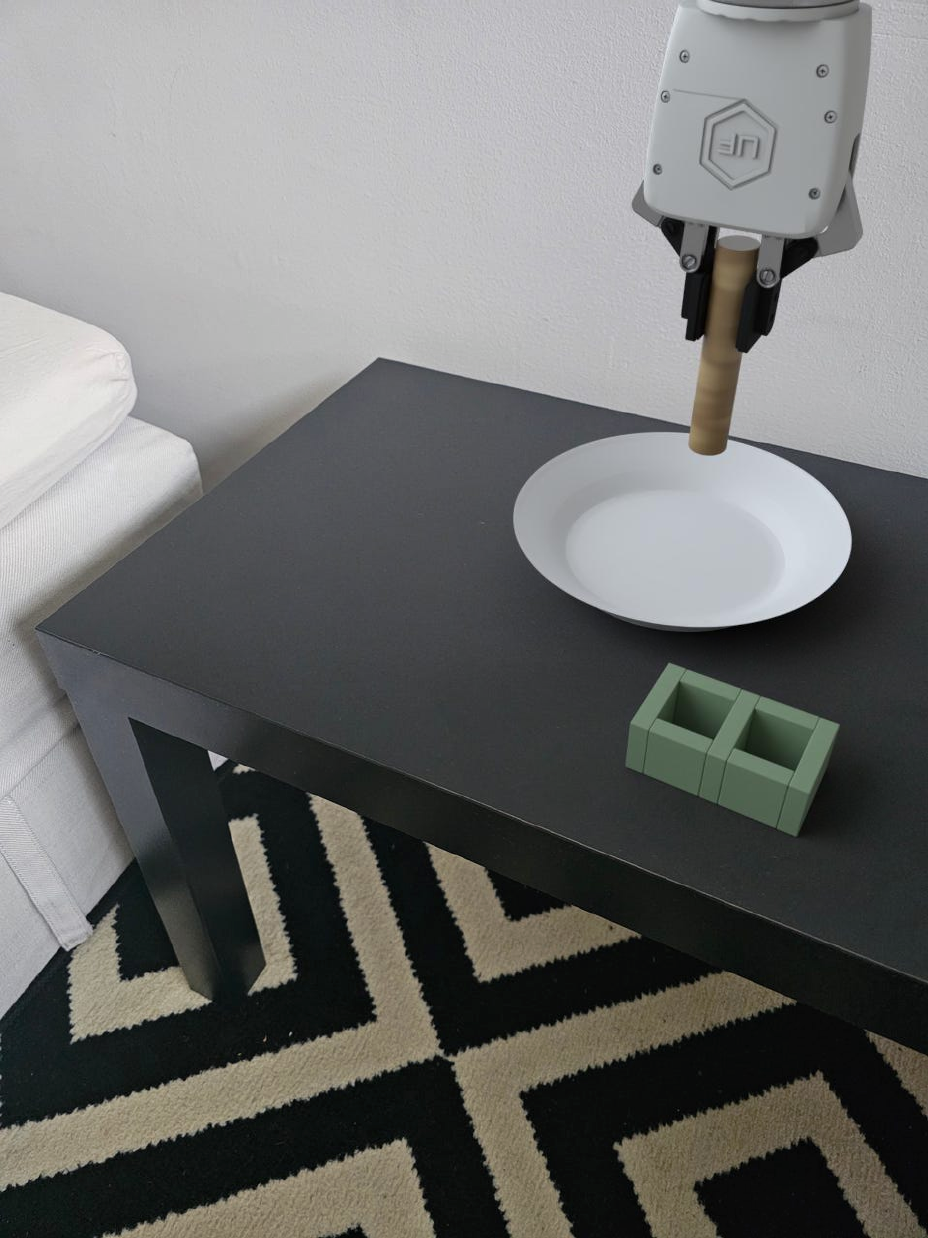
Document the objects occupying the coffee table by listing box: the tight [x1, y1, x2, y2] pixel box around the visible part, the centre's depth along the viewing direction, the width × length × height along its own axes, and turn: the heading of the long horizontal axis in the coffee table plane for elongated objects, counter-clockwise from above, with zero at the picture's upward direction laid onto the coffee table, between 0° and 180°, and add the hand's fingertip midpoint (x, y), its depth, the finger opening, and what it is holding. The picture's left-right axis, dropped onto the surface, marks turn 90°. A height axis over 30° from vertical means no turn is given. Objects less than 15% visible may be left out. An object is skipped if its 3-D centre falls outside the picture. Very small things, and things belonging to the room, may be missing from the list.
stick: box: [688, 234, 761, 456], centre depth 60 cm, size 2×2×13 cm
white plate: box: [512, 431, 852, 633], centre depth 77 cm, size 25×25×4 cm
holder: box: [625, 662, 841, 838], centre depth 61 cm, size 11×6×4 cm, turn 59°
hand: (724, 335), depth 59 cm, fingers closed on stick, 2 cm apart
